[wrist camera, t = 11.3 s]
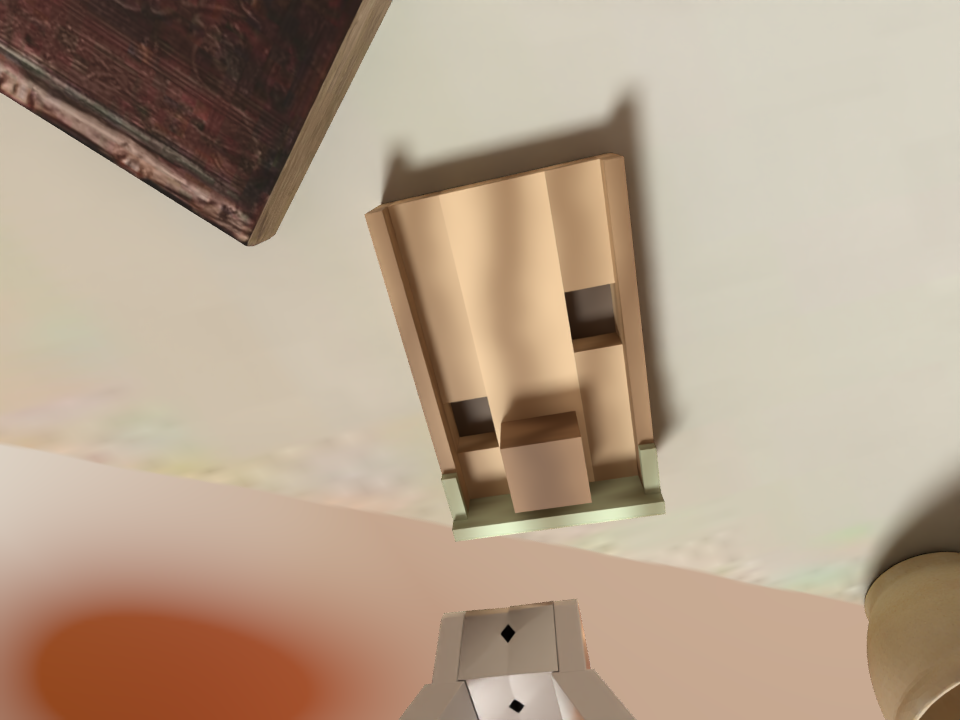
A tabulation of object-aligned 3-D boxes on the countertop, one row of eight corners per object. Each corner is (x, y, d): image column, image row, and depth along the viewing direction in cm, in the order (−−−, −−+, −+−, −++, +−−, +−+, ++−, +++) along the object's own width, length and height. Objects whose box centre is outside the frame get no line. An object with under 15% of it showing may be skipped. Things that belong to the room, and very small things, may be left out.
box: (610, 152, 31) (629, 158, 26) (646, 464, 39) (665, 513, 34) (380, 204, 32) (357, 219, 28) (462, 491, 41) (455, 541, 36)
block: (575, 410, 35) (581, 436, 32) (585, 472, 37) (592, 502, 34) (500, 422, 36) (499, 449, 33) (515, 482, 37) (515, 513, 35)
